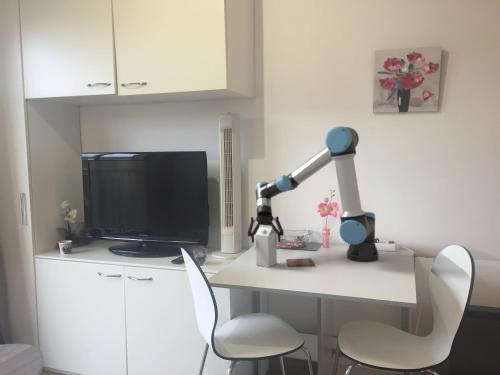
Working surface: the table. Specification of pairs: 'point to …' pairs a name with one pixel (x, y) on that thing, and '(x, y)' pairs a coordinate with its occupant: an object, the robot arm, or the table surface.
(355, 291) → the table surface
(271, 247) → the milk carton
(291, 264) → the walnut board
